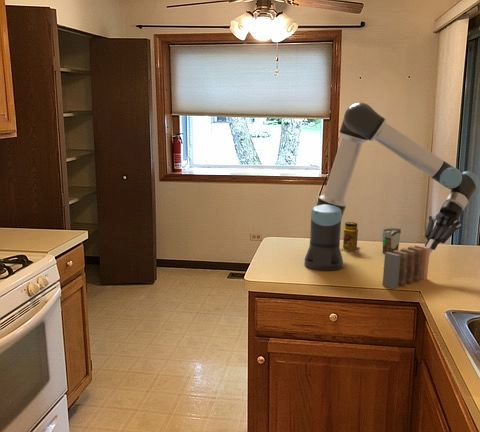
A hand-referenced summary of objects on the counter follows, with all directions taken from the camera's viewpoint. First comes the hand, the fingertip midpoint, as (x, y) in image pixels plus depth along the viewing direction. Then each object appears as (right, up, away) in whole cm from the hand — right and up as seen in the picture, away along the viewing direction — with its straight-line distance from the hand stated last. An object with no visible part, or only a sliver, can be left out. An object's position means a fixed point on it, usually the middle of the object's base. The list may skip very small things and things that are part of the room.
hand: (425, 255), depth 198 cm
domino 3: (-9, -9, -5) cm, 14 cm away
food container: (-4, -2, +35) cm, 35 cm away
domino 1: (-16, -10, -11) cm, 22 cm away
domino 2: (-13, -10, -8) cm, 18 cm away
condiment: (-20, 0, +39) cm, 44 cm away
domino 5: (-2, -8, +1) cm, 9 cm away
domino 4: (-5, -9, -2) cm, 11 cm away
